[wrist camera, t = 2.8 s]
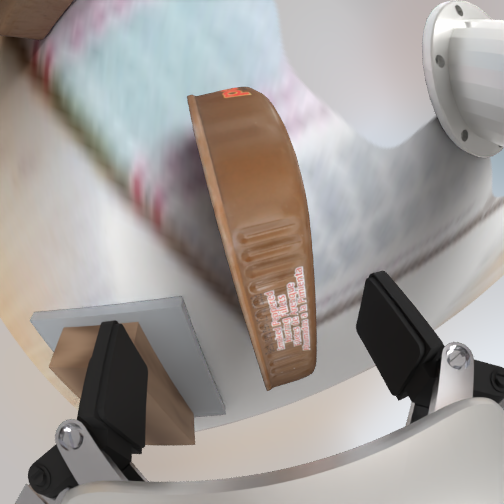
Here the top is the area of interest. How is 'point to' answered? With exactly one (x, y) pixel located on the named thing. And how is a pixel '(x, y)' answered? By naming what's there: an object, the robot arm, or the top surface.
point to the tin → (261, 226)
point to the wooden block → (30, 17)
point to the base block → (158, 388)
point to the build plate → (160, 338)
